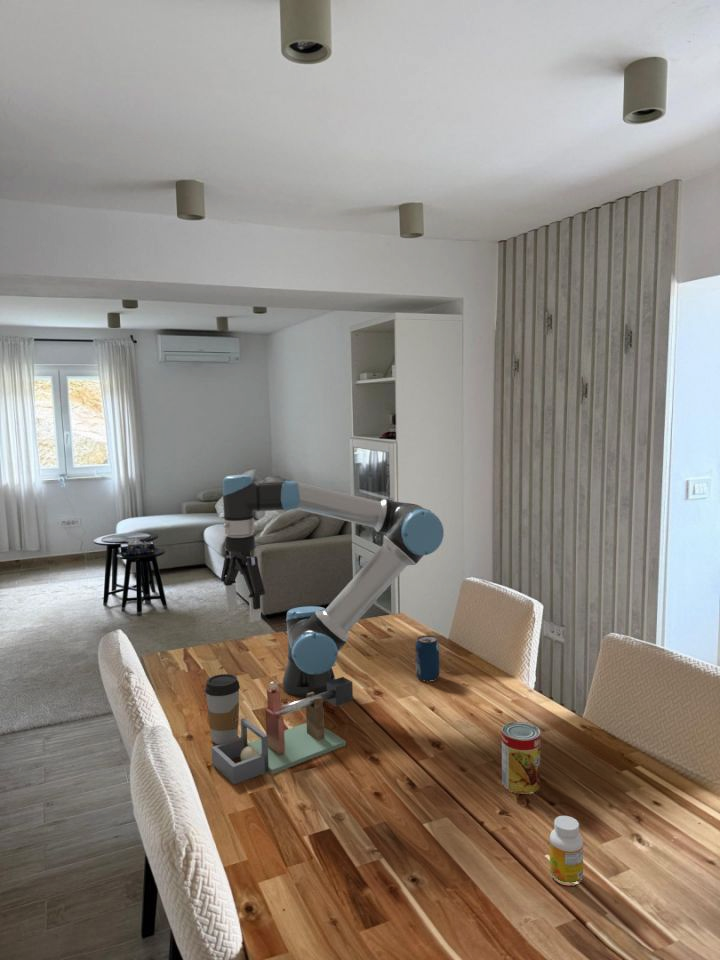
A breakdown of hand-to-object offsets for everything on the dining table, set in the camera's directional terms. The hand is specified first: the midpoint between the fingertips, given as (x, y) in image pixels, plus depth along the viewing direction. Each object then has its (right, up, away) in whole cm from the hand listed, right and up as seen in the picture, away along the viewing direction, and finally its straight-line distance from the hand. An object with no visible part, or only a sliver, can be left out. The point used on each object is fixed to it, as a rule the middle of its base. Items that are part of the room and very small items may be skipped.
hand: (243, 614), depth 176 cm
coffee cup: (-3, -28, -11) cm, 31 cm away
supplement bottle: (+66, -32, -62) cm, 96 cm away
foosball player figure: (+20, -28, -13) cm, 36 cm away
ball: (+6, -27, -24) cm, 36 cm away
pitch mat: (+15, -28, -16) cm, 36 cm away
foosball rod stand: (+19, -27, -14) cm, 35 cm away
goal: (+4, -29, -24) cm, 38 cm away
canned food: (+65, -29, -34) cm, 79 cm away
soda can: (+51, -23, +23) cm, 60 cm away
